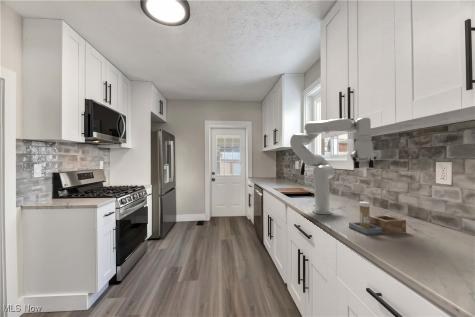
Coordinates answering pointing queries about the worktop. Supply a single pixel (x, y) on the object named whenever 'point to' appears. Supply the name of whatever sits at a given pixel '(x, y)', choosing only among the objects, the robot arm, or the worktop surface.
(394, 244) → the worktop surface
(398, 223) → the brown wooden box
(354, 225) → the tray
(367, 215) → the sprinkles bottle
